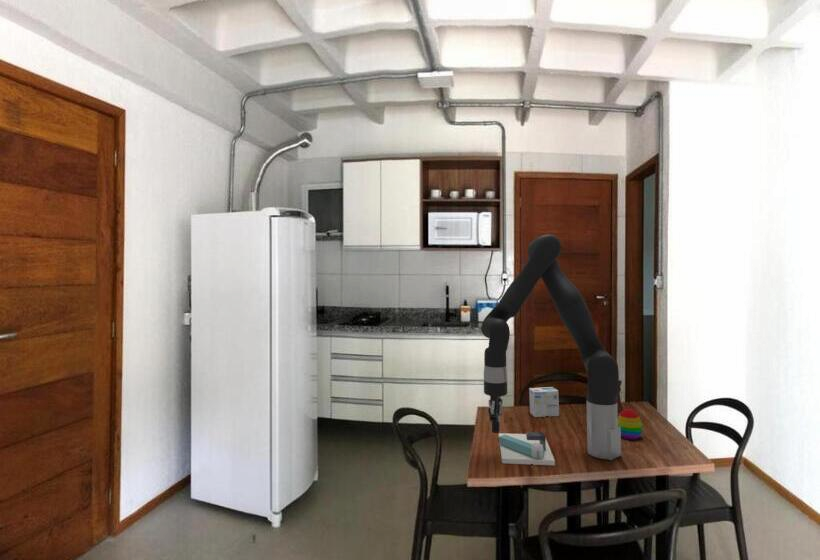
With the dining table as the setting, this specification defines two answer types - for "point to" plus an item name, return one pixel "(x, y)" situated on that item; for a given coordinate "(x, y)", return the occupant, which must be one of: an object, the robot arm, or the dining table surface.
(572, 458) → the dining table surface
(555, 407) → the light bulb box
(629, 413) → the decorative egg
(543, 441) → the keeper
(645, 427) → the dining table surface
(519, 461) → the board
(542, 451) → the teal long piece
